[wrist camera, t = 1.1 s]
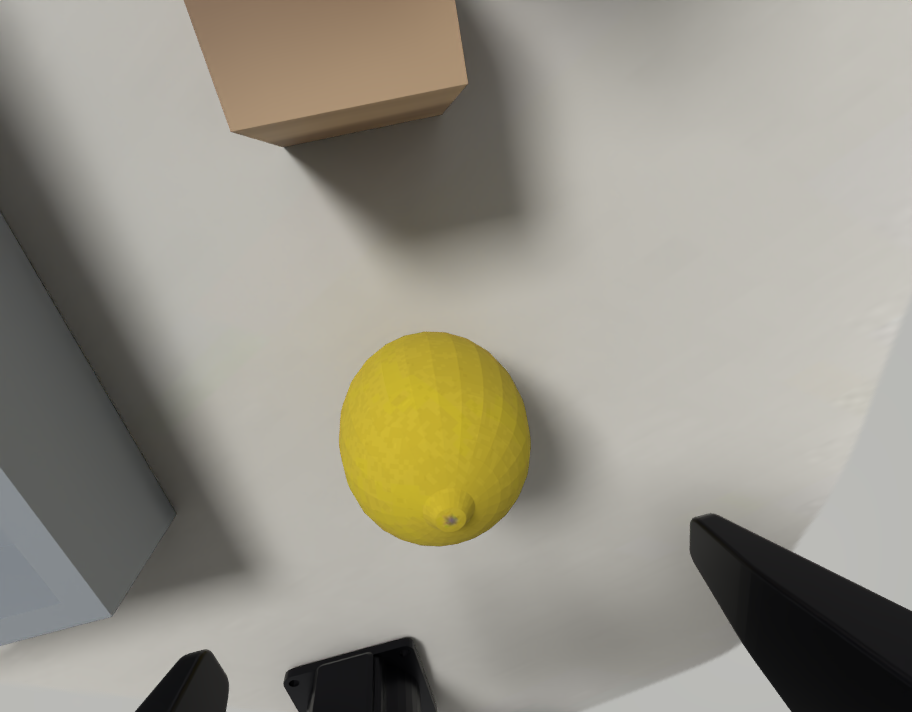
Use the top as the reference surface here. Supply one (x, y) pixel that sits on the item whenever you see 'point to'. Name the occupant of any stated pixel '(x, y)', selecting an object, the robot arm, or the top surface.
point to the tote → (62, 472)
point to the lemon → (434, 439)
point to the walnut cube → (329, 64)
